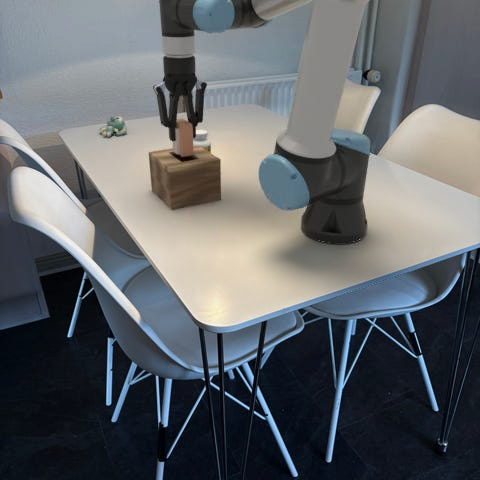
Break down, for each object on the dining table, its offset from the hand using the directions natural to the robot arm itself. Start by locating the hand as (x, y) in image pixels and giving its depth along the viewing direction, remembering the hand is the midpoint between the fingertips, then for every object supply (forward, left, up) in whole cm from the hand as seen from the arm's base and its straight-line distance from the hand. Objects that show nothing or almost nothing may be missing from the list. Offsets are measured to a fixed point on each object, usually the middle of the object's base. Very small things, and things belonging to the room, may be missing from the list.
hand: (183, 151), depth 127 cm
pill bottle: (+16, -12, -12) cm, 23 cm away
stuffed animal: (+66, 0, -12) cm, 67 cm away
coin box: (0, 0, -12) cm, 12 cm away
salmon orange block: (0, 0, 0) cm, 0 cm away
